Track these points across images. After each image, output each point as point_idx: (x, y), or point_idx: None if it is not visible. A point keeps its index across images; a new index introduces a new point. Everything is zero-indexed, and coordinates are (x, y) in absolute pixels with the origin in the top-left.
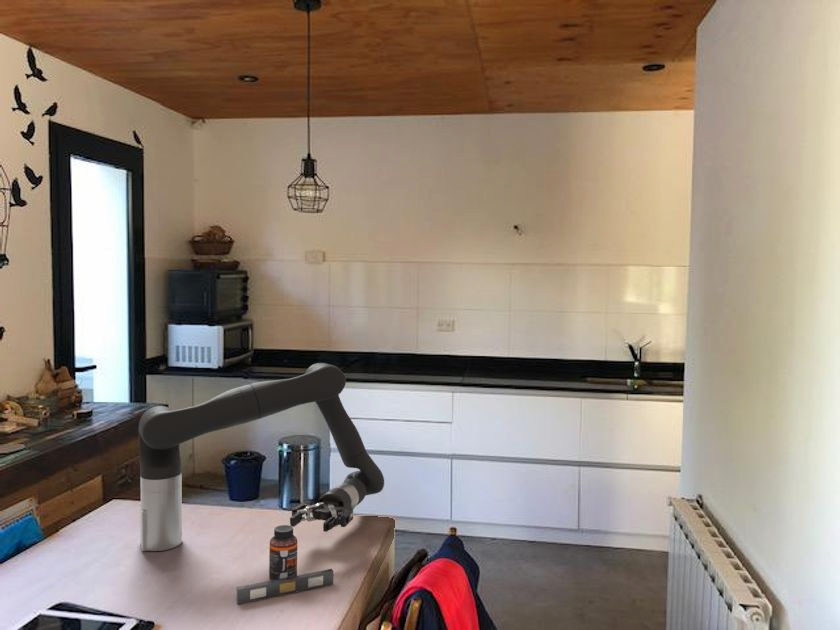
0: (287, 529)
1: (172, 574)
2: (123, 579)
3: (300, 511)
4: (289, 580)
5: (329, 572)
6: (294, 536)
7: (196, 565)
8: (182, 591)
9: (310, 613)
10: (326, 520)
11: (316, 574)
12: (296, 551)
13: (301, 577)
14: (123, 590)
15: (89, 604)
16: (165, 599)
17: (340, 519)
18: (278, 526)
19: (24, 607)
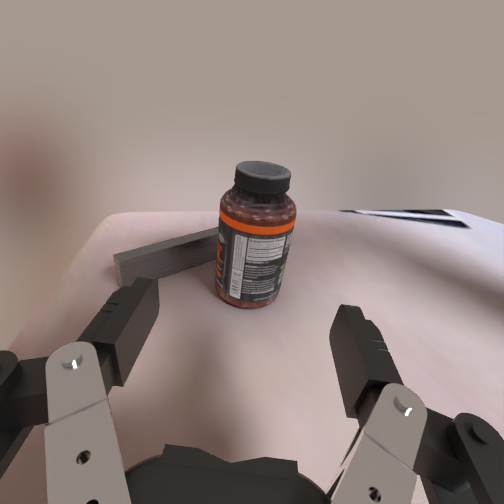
0: (248, 164)
1: (456, 281)
2: (493, 264)
3: (386, 391)
4: (210, 230)
5: (124, 253)
6: (233, 199)
7: (468, 313)
8: (379, 248)
9: (155, 222)
10: (141, 295)
11: (156, 243)
12: (218, 226)
13: (188, 235)
14: (449, 245)
15: (438, 226)
16: (377, 235)
17: (30, 361)
18: (285, 172)
19: (482, 221)
